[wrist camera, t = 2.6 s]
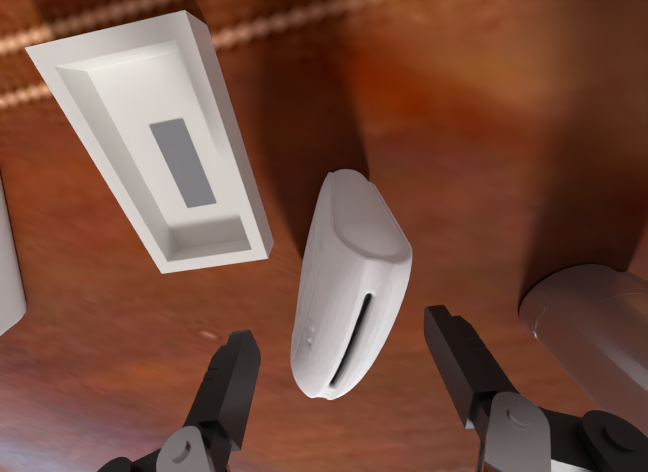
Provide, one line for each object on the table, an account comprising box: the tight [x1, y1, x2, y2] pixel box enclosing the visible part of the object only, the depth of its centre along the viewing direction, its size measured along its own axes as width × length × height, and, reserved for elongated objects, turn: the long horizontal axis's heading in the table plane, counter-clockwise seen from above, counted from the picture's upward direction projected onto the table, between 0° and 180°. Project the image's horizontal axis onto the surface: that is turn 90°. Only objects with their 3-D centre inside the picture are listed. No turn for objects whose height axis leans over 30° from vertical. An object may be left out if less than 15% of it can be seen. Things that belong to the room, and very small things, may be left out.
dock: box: [25, 10, 274, 274], centre depth 17 cm, size 9×15×3 cm, turn 10°
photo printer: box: [291, 169, 412, 400], centre depth 15 cm, size 10×4×12 cm, turn 166°
